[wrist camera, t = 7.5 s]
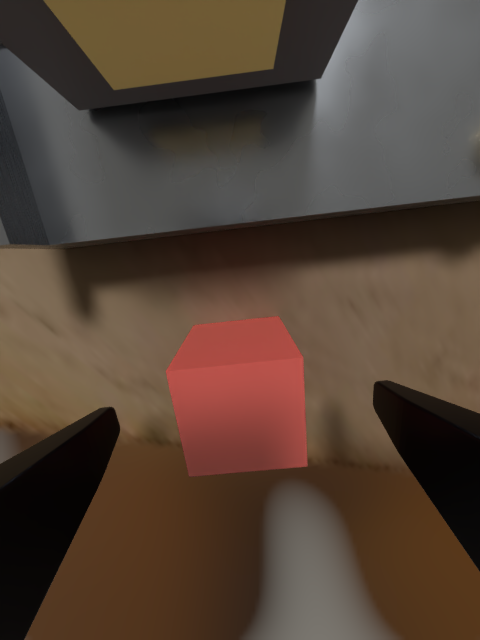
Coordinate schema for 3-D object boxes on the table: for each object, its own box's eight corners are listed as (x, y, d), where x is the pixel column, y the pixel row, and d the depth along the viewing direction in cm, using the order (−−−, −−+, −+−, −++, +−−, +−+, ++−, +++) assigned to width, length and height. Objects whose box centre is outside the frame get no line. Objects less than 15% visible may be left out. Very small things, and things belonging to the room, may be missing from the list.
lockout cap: (278, 315, 11) (303, 357, 7) (283, 390, 12) (307, 466, 8) (193, 325, 11) (165, 371, 7) (206, 398, 12) (189, 476, 8)
